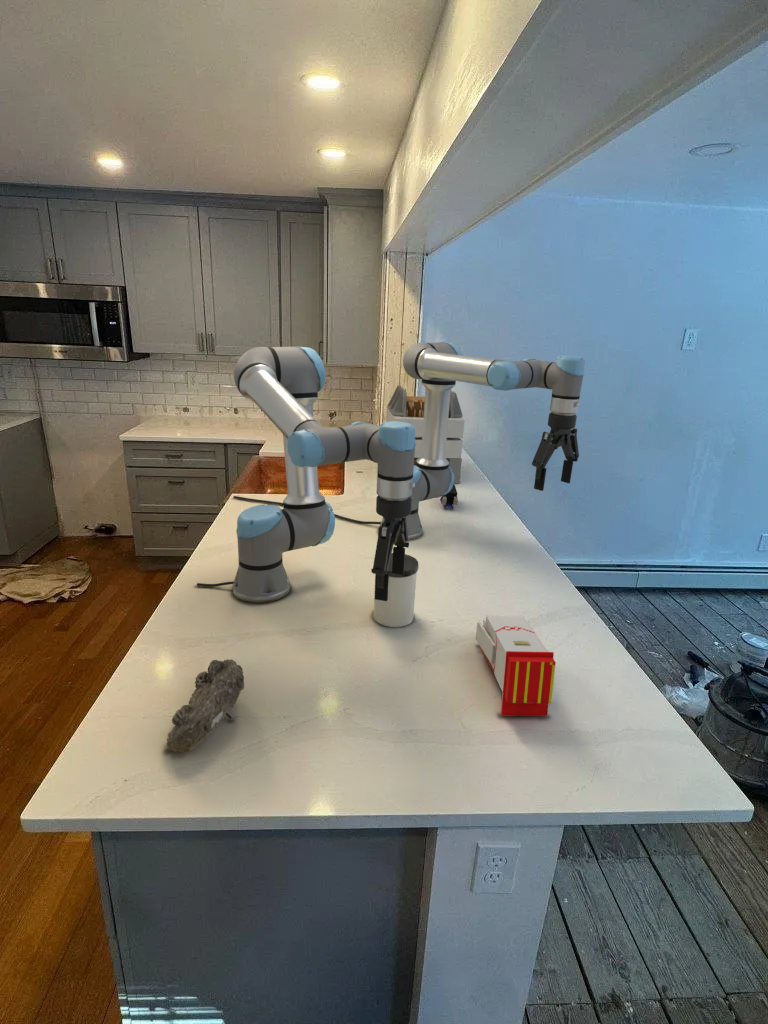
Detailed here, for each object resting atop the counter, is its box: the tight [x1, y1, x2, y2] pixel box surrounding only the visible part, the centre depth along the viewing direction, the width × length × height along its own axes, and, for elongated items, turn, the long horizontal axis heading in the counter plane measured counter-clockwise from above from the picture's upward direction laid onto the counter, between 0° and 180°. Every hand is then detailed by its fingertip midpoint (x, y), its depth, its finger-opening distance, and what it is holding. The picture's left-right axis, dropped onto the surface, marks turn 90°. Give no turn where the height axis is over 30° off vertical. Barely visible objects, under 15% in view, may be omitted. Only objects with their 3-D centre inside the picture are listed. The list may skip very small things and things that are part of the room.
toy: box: [475, 615, 557, 717], centre depth 123 cm, size 12×13×30 cm
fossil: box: [166, 658, 245, 754], centre depth 106 cm, size 22×10×15 cm
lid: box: [388, 552, 419, 577], centre depth 141 cm, size 11×11×2 cm
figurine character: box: [439, 483, 459, 510], centre depth 230 cm, size 7×8×15 cm
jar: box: [373, 571, 418, 628], centre depth 144 cm, size 10×10×15 cm
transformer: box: [385, 384, 465, 484], centre depth 268 cm, size 34×33×41 cm
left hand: (389, 586), depth 127 cm, fingers open, 13 cm apart
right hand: (552, 485), depth 166 cm, fingers open, 13 cm apart
